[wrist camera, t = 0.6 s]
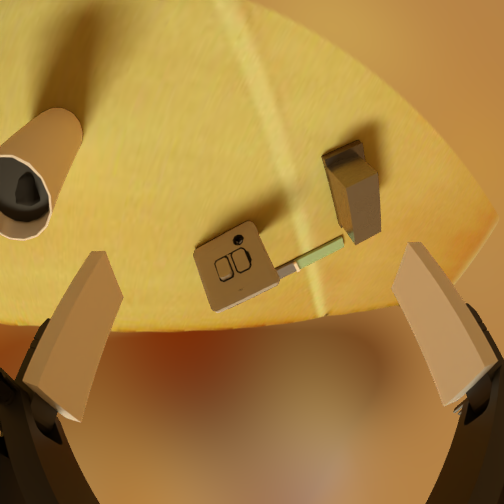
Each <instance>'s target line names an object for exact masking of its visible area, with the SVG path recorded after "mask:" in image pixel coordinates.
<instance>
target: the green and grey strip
mask: <svg viewBox="0 0 504 504" xmlns="http://www.w3.org/2000/svg"><path fill="white" fill-rule="evenodd" d="M343 247H344V243H343V238H342V236H340V237H338V238H336V239H334V240H332V241H330V242H328V243H326V244H324V245H322V246H320V247H318V248H316V249H314V250H312V251H310V252H308V253H306V254H304V255H302V256H300V257H298V258H296V259H294V260H292V261H290V262H288V263H286V264H284V265H282V266H280V267H278V268H276V271H277V273H278V275H279V277H280V279H281V278H283V277H285V276H287V275H289V274H291V273H293V272H295V271H297V272H299V271H300V269H301V268H304V267H306V266H308V265H310V264H312V263H314V262H315V261H317V260H319V259H321V258H323V257H325V256H327V255H329V254H331V253H333V252H335V251H337V250H339V249H341V248H343Z"/></svg>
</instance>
